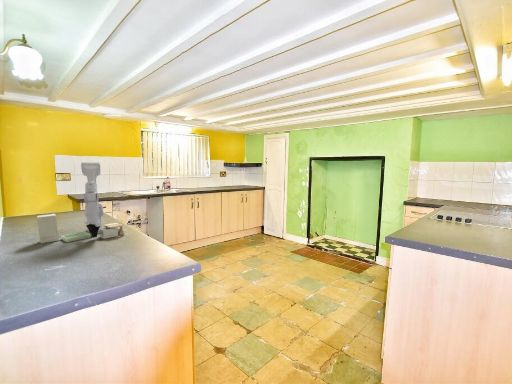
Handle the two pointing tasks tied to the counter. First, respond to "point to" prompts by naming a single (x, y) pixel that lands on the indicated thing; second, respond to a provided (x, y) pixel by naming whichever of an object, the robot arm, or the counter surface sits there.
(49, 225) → the skincare box
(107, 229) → the white block with post
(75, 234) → the tray
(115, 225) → the beige block
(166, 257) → the counter surface
